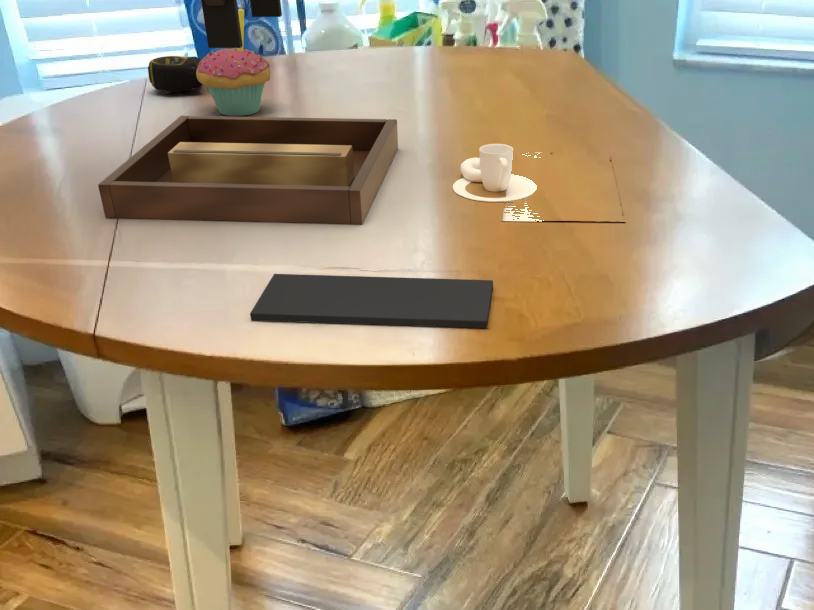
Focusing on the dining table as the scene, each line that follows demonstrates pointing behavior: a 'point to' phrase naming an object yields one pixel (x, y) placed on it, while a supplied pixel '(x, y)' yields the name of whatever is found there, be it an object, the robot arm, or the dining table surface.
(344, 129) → the box
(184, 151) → the grooved wooden beam
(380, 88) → the dining table surface
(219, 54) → the cupcake
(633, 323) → the dining table surface
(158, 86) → the tape measure
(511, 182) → the teacup and saucer
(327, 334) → the dining table surface
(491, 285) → the mat
